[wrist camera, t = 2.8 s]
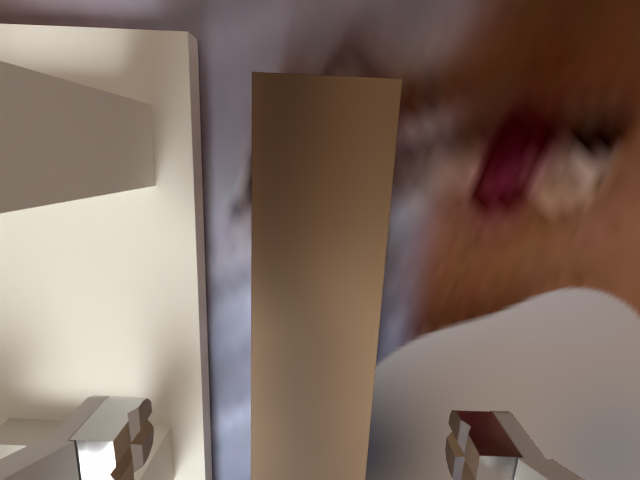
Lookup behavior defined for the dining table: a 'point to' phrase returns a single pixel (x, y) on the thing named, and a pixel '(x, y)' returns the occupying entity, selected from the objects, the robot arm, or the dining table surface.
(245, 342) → the dining table surface
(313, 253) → the rail
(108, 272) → the white block holder
